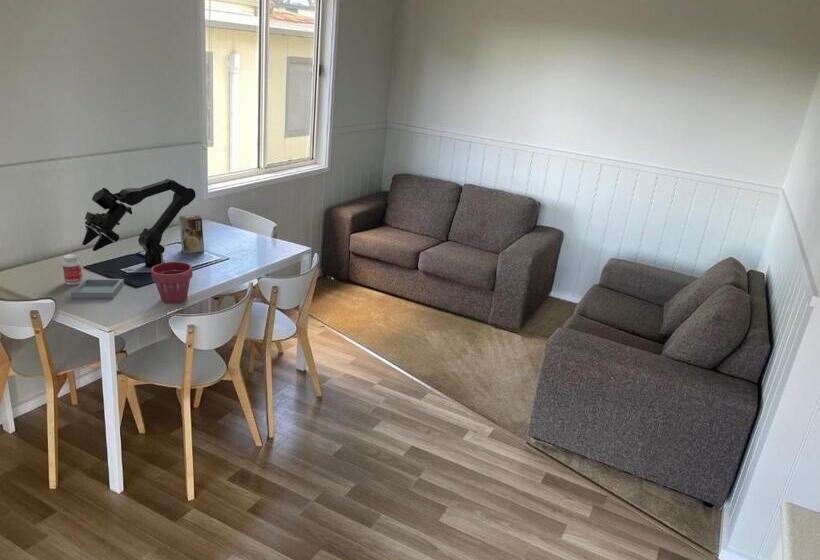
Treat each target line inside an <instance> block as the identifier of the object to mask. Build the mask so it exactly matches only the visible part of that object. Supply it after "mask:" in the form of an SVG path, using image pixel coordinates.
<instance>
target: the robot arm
mask: <svg viewBox="0 0 820 560" xmlns="http://www.w3.org/2000/svg"><path fill="white" fill-rule="evenodd" d="M168 191H172V192H173V195H172V200H171V203H169V205H168V206H167V207H166V209H165V210H164V212H163V213H162V214H161V216H160V217H159V218H158V220H156V222H155V223H154V225H152V227H151V228H149V229H148V228H144V229H143V230H142V232H141V233H140V234H139V235H138V238H137V239H138V240H137V241H138V245H139V246H140V247H142V249H143V250H144V252H145V253H144V257H143V258H144V265H145V266H146V267H145V268H153V267H154V266H156V265H158V264H161V263H165V261H164V257H163V255H164V254H163V253H165V249H166V247H165V246H163V245H162V244H161V242H162V238H163V234H164V232H165V231H167V229H168V227H169V226H170V225H171V223H173V221H174V220H175V218H176V217H177V216H178V214H179V213H180V211H181V210H182V209H183V208H184V207H187V206H188V205H191V204H190V203H192V202H193V201H194V200H195V199H196V195H197V194H196V191H195V189H193V188H192V187H189V186H186V185H182V184H180V183H178V182H176V181H175V180H173V179H170V178H166V179H164V180H161V181H157V182H154V183H151V184H148V185H143V186H141V187H129V188H122V189H121V190H120V191H119V192H115V193H112V192H111V191H110V190H109V189H107V187H102V188H101V189H99V190H98V191H96V192H95V193H94V194H93V196H92V197H91V200H92V202H94V203H95V204H96V205H98V206H99V207H101V208H102V209H103V210H107V211H106V212H103V213H102V212H101V213H99V212H96V213H95V212H90V211H86V214H85V217H84V220H85V222H84V224H85V225H84V226H85V229H86V230H85V231H86V232H85V235H84V238H83V241H82V243H81V244H82V246H86V245H87V244H89V243H91V242H92V241H93V240H94V239H97V238H98V239H97V241H96V243H95V244H94V245H93V247H92V251H93V252H97V251H98V250H100V249H102V248H103V247H107V246H108V245H111V244H115V243H117V242H118V241H119V240H120V235H119V234H118V233H117V232H115V231H113V230H114V229H115V228H116V226H120V225H121V223H120V221H121V220H122V219H123V218H124V216H125V215H126V214H129V215H133V211H132V206H133V207H134V206H135V205H138V204H139V203H141V202H143V200H145V199H147V198H150V197H153V196H156V195H158V194H161V193H164V192H168ZM125 204H126V205H127V206H126V205H125ZM163 261H164V262H163Z"/></svg>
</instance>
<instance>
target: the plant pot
mask: <svg viewBox="0 0 820 560" xmlns="http://www.w3.org/2000/svg"><path fill="white" fill-rule="evenodd" d="M150 271H151V274H150V275H151V279H152V281H153V282H155V285H156V288H157V291H158V294H159V296H160V301H161V302H163V303H164V304H170V305H171V304H173V305H174V304H181V303H183V302H186V301H187V300H188V293H189V288H190V282H191V279H192V278H193V267H192V265H191V264H190V263H187V262H183V261H168V262H164V263H161V264H158V265H156V266H154V267H151V269H150Z"/></svg>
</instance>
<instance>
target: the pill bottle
mask: <svg viewBox="0 0 820 560" xmlns="http://www.w3.org/2000/svg"><path fill="white" fill-rule="evenodd" d="M63 260H64V261H63V262H62V271H63V277H64V283H65V284H66V285H67V286H76V285H77V286H78V285H79V284H80V283H81V282H82V281H83V280H84V279H83V271H82V265H81V262H80V260H78V255H77V254H74V253H73V254H66V255H64V256H63Z"/></svg>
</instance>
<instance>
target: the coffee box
mask: <svg viewBox="0 0 820 560" xmlns="http://www.w3.org/2000/svg"><path fill="white" fill-rule="evenodd" d="M178 219H179V229H180V230H179V231H180V242H181V251H182V252H183V254H185V255H186V254H195V253H204V252H205V243H204V231H203V230H204V229H203V218H202V217H201V216H200V215H184V216H183V215H181V216H178Z"/></svg>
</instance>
